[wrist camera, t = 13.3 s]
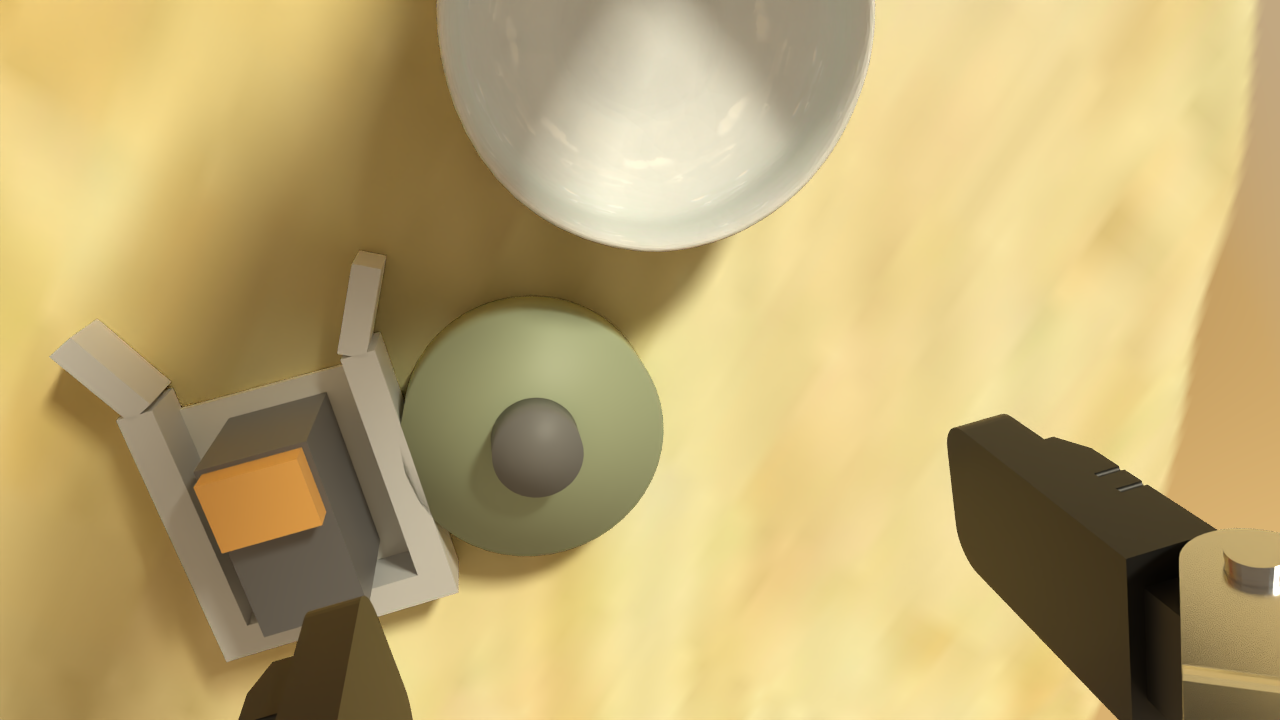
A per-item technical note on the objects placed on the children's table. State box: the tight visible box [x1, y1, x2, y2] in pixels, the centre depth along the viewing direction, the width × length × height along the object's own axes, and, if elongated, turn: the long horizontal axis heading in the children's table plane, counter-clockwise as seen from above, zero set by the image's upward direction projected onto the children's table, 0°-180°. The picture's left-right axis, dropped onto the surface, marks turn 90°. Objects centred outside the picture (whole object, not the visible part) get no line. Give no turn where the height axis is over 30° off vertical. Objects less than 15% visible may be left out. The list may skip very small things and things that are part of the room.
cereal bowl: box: [436, 0, 875, 252], centre depth 38 cm, size 17×17×7 cm
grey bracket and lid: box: [50, 250, 663, 662], centre depth 42 cm, size 16×24×5 cm
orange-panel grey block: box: [193, 392, 380, 637], centre depth 41 cm, size 8×4×7 cm, turn 13°
